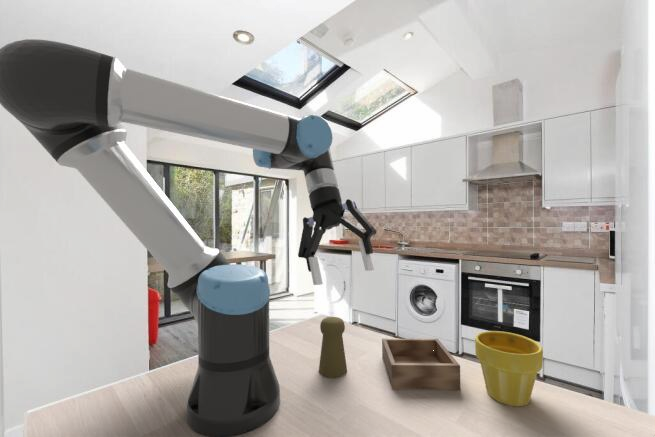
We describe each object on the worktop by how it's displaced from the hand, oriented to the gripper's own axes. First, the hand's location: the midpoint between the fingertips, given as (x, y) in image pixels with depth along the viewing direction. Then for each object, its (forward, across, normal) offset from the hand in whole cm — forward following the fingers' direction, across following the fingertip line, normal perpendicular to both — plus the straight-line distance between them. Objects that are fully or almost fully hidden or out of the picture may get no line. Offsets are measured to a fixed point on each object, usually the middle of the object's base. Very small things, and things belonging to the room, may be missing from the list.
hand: (342, 277), depth 67 cm
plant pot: (+27, -24, -7) cm, 37 cm away
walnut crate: (+22, -9, -7) cm, 25 cm away
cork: (+18, +6, +2) cm, 20 cm away
